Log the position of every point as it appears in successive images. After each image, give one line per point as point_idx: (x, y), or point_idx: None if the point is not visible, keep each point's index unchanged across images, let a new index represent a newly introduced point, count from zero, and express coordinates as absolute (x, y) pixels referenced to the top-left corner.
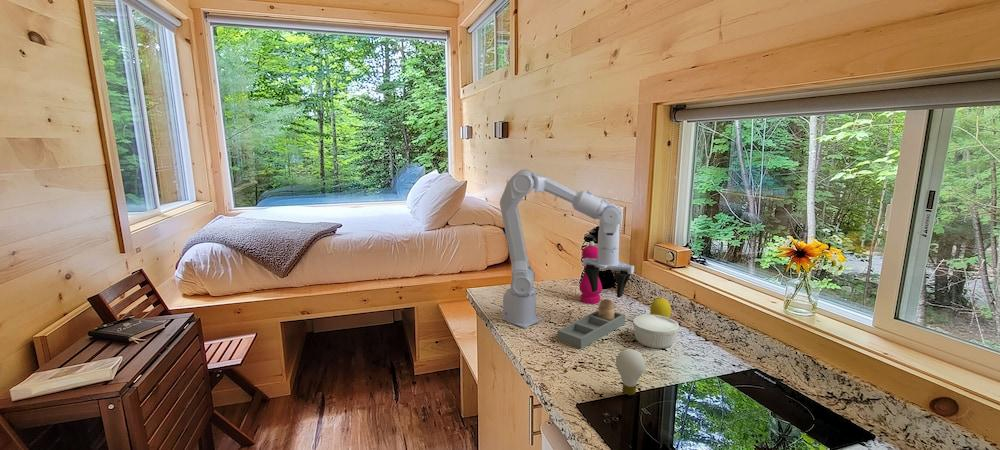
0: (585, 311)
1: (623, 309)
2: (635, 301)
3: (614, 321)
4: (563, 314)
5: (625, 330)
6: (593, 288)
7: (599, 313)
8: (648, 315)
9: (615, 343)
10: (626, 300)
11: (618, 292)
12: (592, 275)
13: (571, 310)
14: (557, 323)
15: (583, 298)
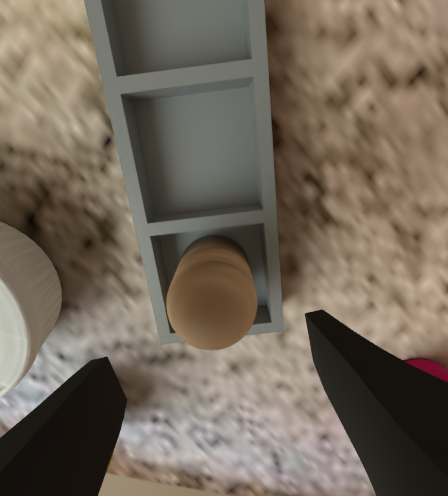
0: (360, 298)
1: (262, 410)
2: (276, 482)
3: (142, 256)
4: (420, 201)
5: (124, 274)
6: (316, 325)
7: (230, 252)
8: (7, 368)
9: (52, 140)
10: (305, 470)
11: (66, 386)
12: (407, 445)
13: (416, 263)
14: (381, 92)
15: (434, 371)
